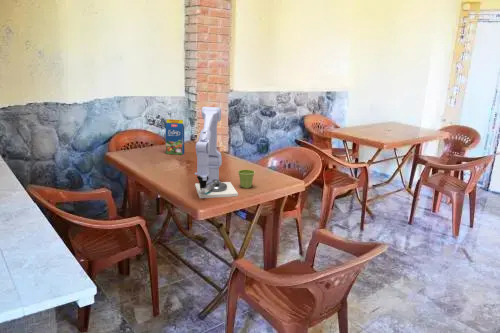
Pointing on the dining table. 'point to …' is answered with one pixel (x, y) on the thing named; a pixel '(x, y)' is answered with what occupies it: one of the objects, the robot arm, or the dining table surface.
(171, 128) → the blue food package
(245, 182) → the plant pot
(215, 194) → the base board
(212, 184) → the crank handle
